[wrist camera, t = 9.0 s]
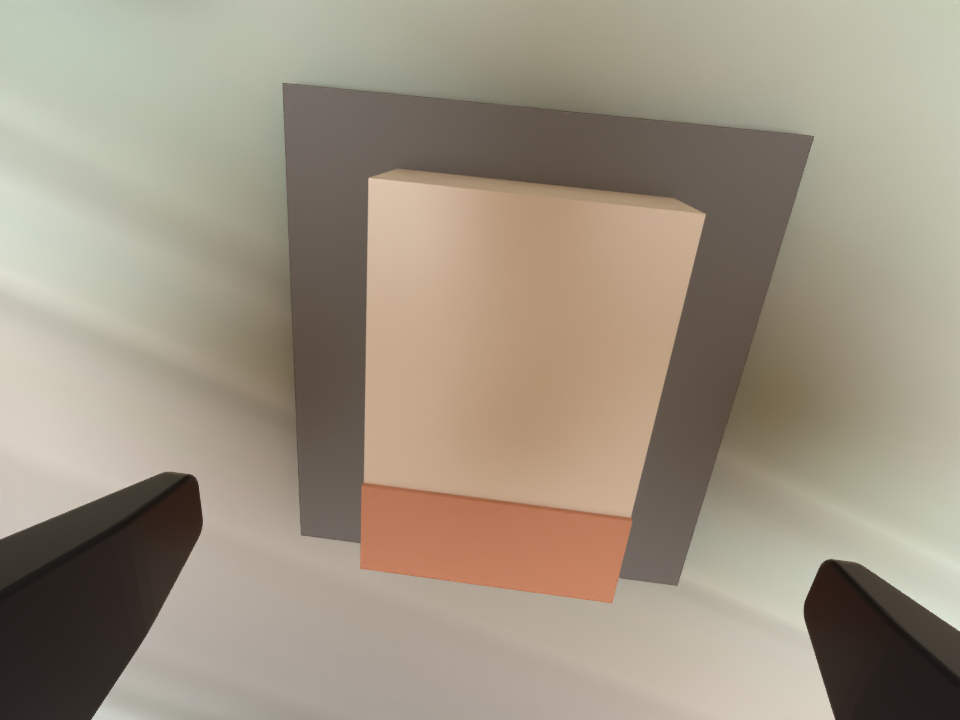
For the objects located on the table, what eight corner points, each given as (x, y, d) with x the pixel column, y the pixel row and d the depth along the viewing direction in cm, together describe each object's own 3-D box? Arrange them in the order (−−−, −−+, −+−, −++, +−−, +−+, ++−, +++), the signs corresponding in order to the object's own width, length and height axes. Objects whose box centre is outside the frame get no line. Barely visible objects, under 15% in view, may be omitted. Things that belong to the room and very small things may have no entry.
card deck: (674, 198, 12) (708, 215, 10) (600, 531, 16) (611, 603, 13) (397, 168, 12) (365, 177, 10) (385, 503, 16) (360, 568, 13)
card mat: (672, 570, 17) (677, 585, 16) (308, 521, 17) (301, 534, 16) (800, 136, 12) (813, 136, 11) (293, 84, 12) (282, 82, 12)
